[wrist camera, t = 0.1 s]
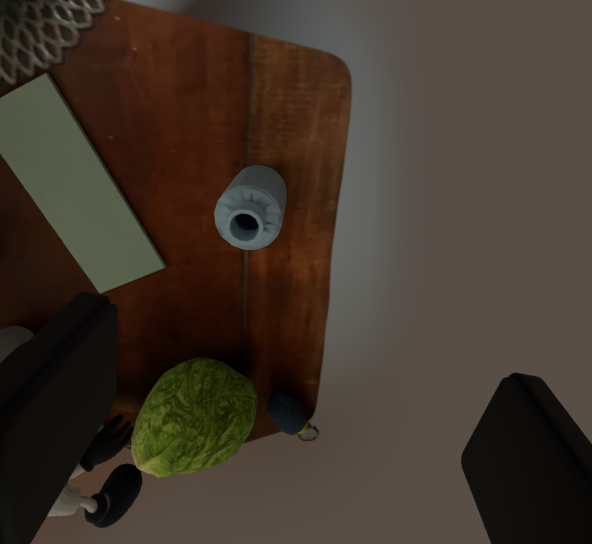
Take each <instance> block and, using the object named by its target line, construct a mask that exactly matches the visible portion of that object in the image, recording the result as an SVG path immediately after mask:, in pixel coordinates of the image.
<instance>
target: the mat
mask: <svg viewBox="0 0 592 544" xmlns="http://www.w3.org/2000/svg"><path fill="white" fill-rule="evenodd" d="M0 154H1V155H2V156H3V158H4V159H5V161H6V162H7V163H8V165H9V166H10V168H11V169H12V170H13V172H14V173H15V175H16V176H17V178H18V179H19V180H20V182H21V183H22V185H23V186H24V187H25V189H26V190H27V192H28V193H29V194H30V196H31V197H32V199H33V200H34V202H35V203H36V204H37V206H38V207H39V209H40V210H41V211H42V213H43V214H44V216H45V217H46V218H47V220H48V221H49V223H50V224H51V225H52V227H53V228H54V230H55V231H56V233H57V234H58V235H59V237H60V238H61V240H62V241H63V242H64V244H65V245H66V247H67V248H68V249H69V251H70V252H71V254H72V255H73V257H74V258H75V259H76V261H77V262H78V264H79V265H80V266H81V268H82V269H83V271H84V272H85V273H86V275H87V276H88V278H89V279H90V280H91V282H92V283H93V285H94V286H95V288H96V289H97V290H98V292H99V293H103V292H105V291H108V290H110V289H113V288H115V287H118V286H120V285H123V284H125V283H128V282H130V281H133V280H135V279H138V278H140V277H143V276H145V275H148V274H150V273H153V272H155V271H158V270H161V269H163V268H165V267H166V264H165V263H164V261H163V259H162V258H161V256H160V254H159V253H158V251H157V250H156V248H155V246H154V245H153V243H152V241H151V240H150V238H149V237H148V235H147V233H146V232H145V230H144V228H143V227H142V225H141V223H140V222H139V220H138V219H137V217H136V215H135V214H134V212H133V210H132V209H131V207H130V205H129V204H128V202H127V201H126V199H125V197H124V196H123V194H122V192H121V191H120V189H119V187H118V186H117V184H116V183H115V181H114V179H113V178H112V176H111V174H110V173H109V171H108V169H107V168H106V166H105V165H104V163H103V161H102V160H101V158H100V156H99V155H98V153H97V151H96V150H95V148H94V147H93V145H92V143H91V142H90V140H89V138H88V137H87V135H86V133H85V132H84V130H83V129H82V127H81V125H80V124H79V122H78V120H77V119H76V117H75V115H74V114H73V112H72V111H71V109H70V107H69V106H68V104H67V102H66V101H65V99H64V97H63V96H62V94H61V93H60V91H59V89H58V88H57V86H56V84H55V83H54V81H53V80H52V78H51V76H50V75H49V73H45V74H43V75H41V76H40V77H38V78H36V79H34V80H32V81H30V82H29V83H27V84H25V85H23V86H21V87H19V88H18V89H16V90H14V91H12V92H10V93H8V94H6V95H5V96H3V97H1V98H0Z"/></svg>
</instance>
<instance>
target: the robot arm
mask: <svg viewBox="0 0 592 544" xmlns="http://www.w3.org/2000/svg"><path fill="white" fill-rule="evenodd" d="M116 380H117V306H116V305H115V304H111V303H110V299H109V297H107V296H103V295H97V294H92V293H87V292H81V293H79V294H78V295H77V296H76V297H75V298H74V299H73V300H71V301H70V302H69V303H68V304H67V305H66V306H65V307H64V308H63V309H62V310H61V311H60V312H59V313H58V314H57V315H55V316H54V317H53V318H52V319H51V320H50V321H49V322H48V323H47V324H46V325H45V326H44V327H43V328H42V329H41V330H40V331H38V332H37V333H36V334H35V335H34V336H33V337H32V338H31V339H30V340H29V341H28V342H25V343H22V344H21V345H20V346H18V347H17V348H16V349H15V350H14V351H12V352H11V353H10V354H9V355H8V356H7V357H6V358H5V359H4V360H3V361H2V362H1V363H0V544H30V543H31V542H32V540H33V538H34V537H35V535H36V533H37V532H38V530H39V528H40V527H41V525H42V523H43V522H44V520H45V518H46V517H47V515H48V513H49V512H50V510H51V508H52V507H53V505H54V503H55V502H56V500H57V498H58V497H59V495H60V493H61V492H62V490H63V488H64V487H65V485H66V483H67V482H68V480H69V478H70V477H71V475H72V473H73V472H74V470H75V468H76V467H77V465H78V463H79V462H80V460H81V458H82V457H83V455H84V453H85V452H86V450H87V448H88V447H89V445H90V443H91V442H92V440H93V438H94V437H95V435H96V433H97V432H98V430H99V428H100V427H101V425H102V423H103V422H104V420H105V418H106V417H107V415H108V413H109V412H110V410H111V408H112V406H113V404H114V401H115V397H116ZM461 464H462V469H463V471H464V474H465V477H466V479H467V482H468V484H469V487H470V490H471V492H472V495H473V497H474V500H475V503H476V505H477V508H478V510H479V513H480V515H481V518H482V521H483V523H484V526H485V529H486V531H487V534H488V536H489V539H490V541H491V544H592V444H591V443H590V441H589V440H588V439H587V437H586V436H585V435H584V433H583V432H582V431H581V429H580V428H579V427H578V425H577V424H576V423H575V422H574V420H573V419H572V418H571V416H570V415H569V414H568V412H567V411H566V410H565V408H564V407H563V406H562V405H561V403H560V402H559V401H558V399H557V398H556V397H555V395H554V394H553V393H552V391H551V390H550V389H549V387H548V386H547V385H546V383H545V382H544V381H543V380H542V379H541V378H539V377H536V376H531V375H525V374H520V373H512V374H511V375H510V376H509V377H505V378H504V379H502V381H501V382H500V384H499V386H498V388H497V390H496V392H495V393H494V395H493V397H492V399H491V401H490V403H489V404H488V407H487V408H486V410H485V412H484V414H483V416H482V418H481V420H480V421H479V423H478V425H477V427H476V429H475V430H474V432H473V434H472V436H471V438H470V440H469V442H468V443H467V445H466V447H465V449H464V451H463V453H462V457H461Z"/></svg>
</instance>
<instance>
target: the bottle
mask: <svg viewBox="0 0 592 544" xmlns="http://www.w3.org/2000/svg"><path fill="white" fill-rule="evenodd" d="M286 200H287V189H286V185H285V182H284V180H283V179H282V177H281V176H280V175H279V174H278V173H277V172H276V171H275V170H273V169H271V168H269V167H267V166H263V165H254V166H250V167H247V168H245V169H243V170H242V171H241V172H240V173H239V174H238V175H237V176H236V177H235V178H234V180H233V181H232V182H231V184H230V185H229V186H228V188H227V189H226V190H225V192H224V193H223V195H222V196H221V197H220V199H219V200H218V203H217V206H216V209H215V212H214V213H215V223H216V226H217V228H218V230H219V232H220V234H221V236H222V237H223V238H224V239H225V240H226V241H228V242H229V243H230V244H231V245H233V246H236V247H238V248H241V249H244V250H256V249H259V248H262V247H265V246H267V245H269V244H270V243H271V242H272V241H273V240H274V239H275V238H276V237H277V236H278V233H279V231H280V228H281V226H282V221H283V216H284V211H285V206H286Z"/></svg>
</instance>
